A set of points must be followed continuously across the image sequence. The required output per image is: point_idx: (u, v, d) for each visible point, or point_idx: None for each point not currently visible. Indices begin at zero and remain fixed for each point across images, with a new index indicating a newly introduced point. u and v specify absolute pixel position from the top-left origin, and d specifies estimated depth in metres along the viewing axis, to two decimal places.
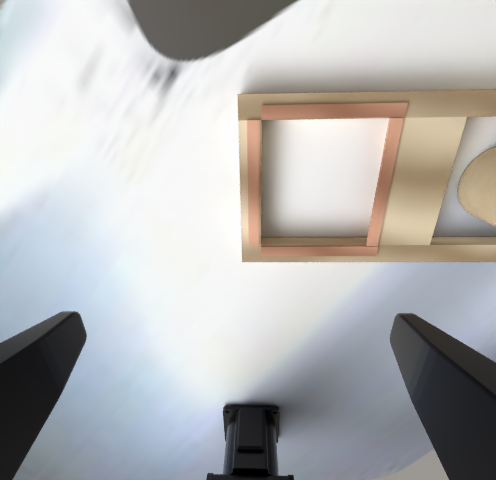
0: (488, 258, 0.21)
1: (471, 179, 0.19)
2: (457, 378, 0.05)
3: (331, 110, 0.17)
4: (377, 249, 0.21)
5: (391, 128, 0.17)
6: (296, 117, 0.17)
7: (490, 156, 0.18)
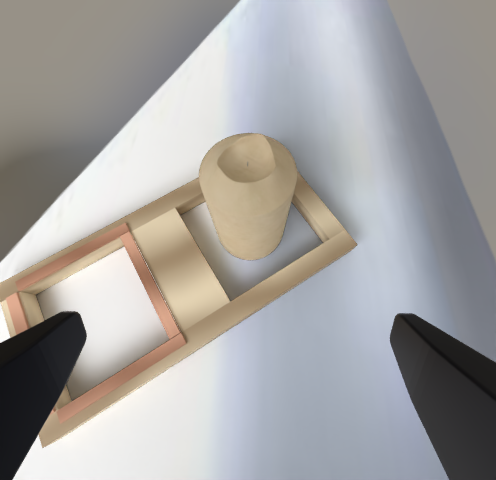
0: (294, 280, 0.20)
1: None
2: (457, 378, 0.05)
3: (72, 255, 0.21)
4: (185, 336, 0.19)
5: (125, 241, 0.21)
6: (46, 274, 0.21)
7: None
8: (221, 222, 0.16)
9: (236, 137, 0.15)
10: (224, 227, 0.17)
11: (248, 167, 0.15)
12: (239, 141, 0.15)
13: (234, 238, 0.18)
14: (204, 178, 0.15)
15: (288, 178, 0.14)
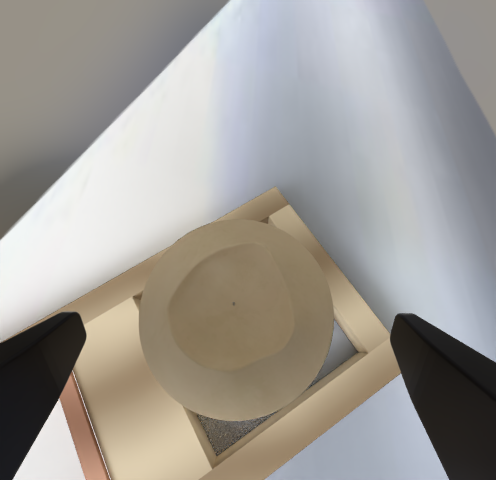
0: (316, 428, 0.12)
1: None
2: (457, 378, 0.05)
3: None
4: None
5: None
6: None
7: None
8: None
9: (212, 240, 0.07)
10: None
11: (234, 307, 0.07)
12: (217, 254, 0.07)
13: None
14: (145, 328, 0.07)
15: (319, 334, 0.07)
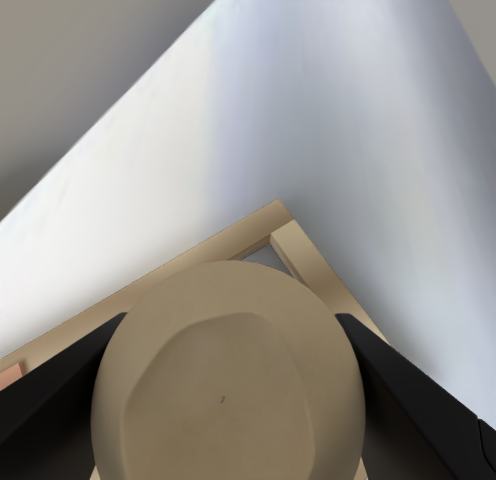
0: None
1: None
2: (370, 377, 0.05)
3: None
4: None
5: None
6: None
7: None
8: None
9: (193, 300, 0.05)
10: None
11: (224, 402, 0.05)
12: (199, 324, 0.05)
13: None
14: (97, 430, 0.05)
15: (347, 444, 0.05)
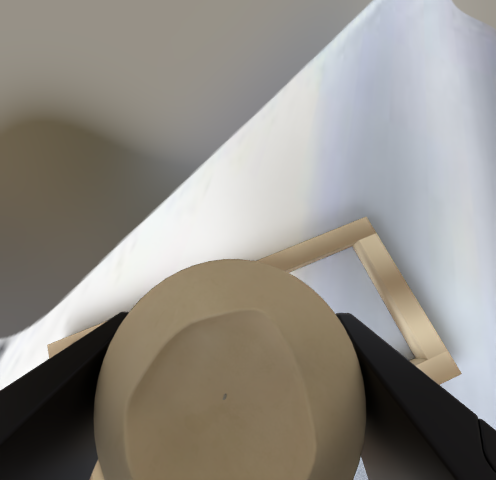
0: None
1: None
2: (370, 377, 0.05)
3: None
4: None
5: None
6: None
7: None
8: None
9: (195, 298, 0.05)
10: None
11: (226, 399, 0.05)
12: (201, 322, 0.05)
13: None
14: (100, 427, 0.05)
15: (348, 441, 0.05)
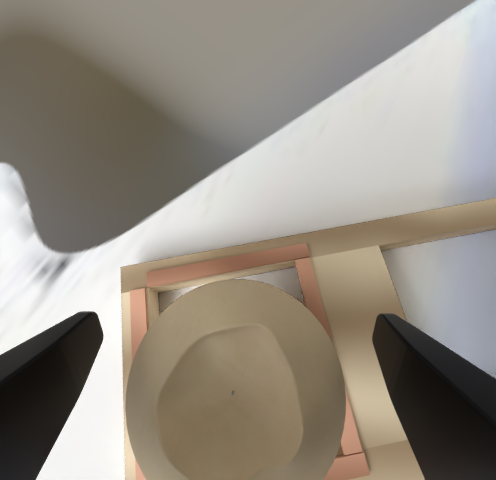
0: None
1: None
2: (431, 378, 0.05)
3: (226, 264, 0.15)
4: (367, 460, 0.12)
5: (300, 270, 0.15)
6: (187, 277, 0.15)
7: None
8: None
9: (208, 313, 0.07)
10: None
11: (233, 395, 0.06)
12: (214, 333, 0.06)
13: None
14: (132, 417, 0.06)
15: (330, 428, 0.06)
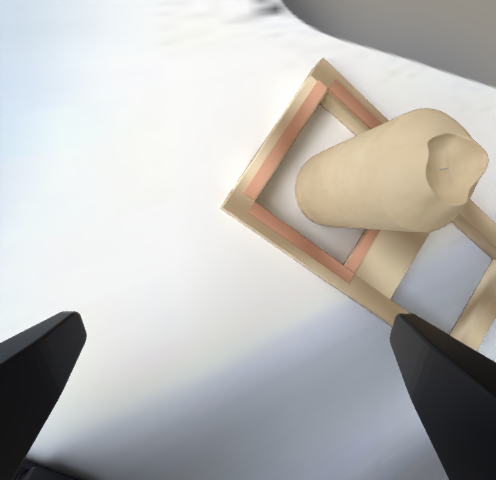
0: None
1: (304, 171, 0.19)
2: (457, 378, 0.05)
3: None
4: (351, 278, 0.20)
5: None
6: (353, 109, 0.19)
7: (319, 153, 0.19)
8: (349, 184, 0.13)
9: (461, 129, 0.11)
10: (342, 188, 0.14)
11: (438, 171, 0.12)
12: (462, 139, 0.11)
13: (332, 200, 0.15)
14: (396, 137, 0.11)
15: (452, 217, 0.12)
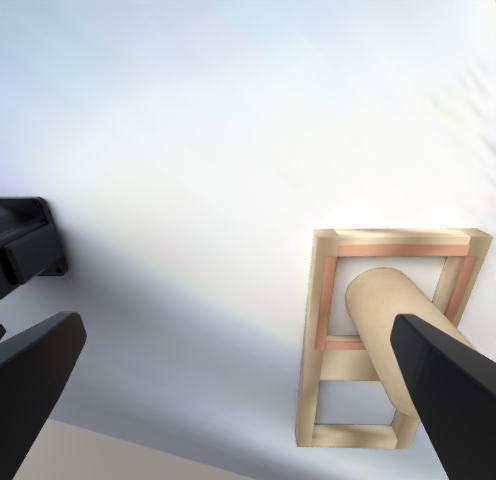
0: (303, 413, 0.27)
1: (382, 274, 0.21)
2: (457, 378, 0.05)
3: (454, 307, 0.21)
4: (319, 348, 0.24)
5: None
6: (458, 283, 0.20)
7: (405, 276, 0.21)
8: None
9: None
10: (390, 328, 0.17)
11: None
12: None
13: (375, 320, 0.18)
14: None
15: None
